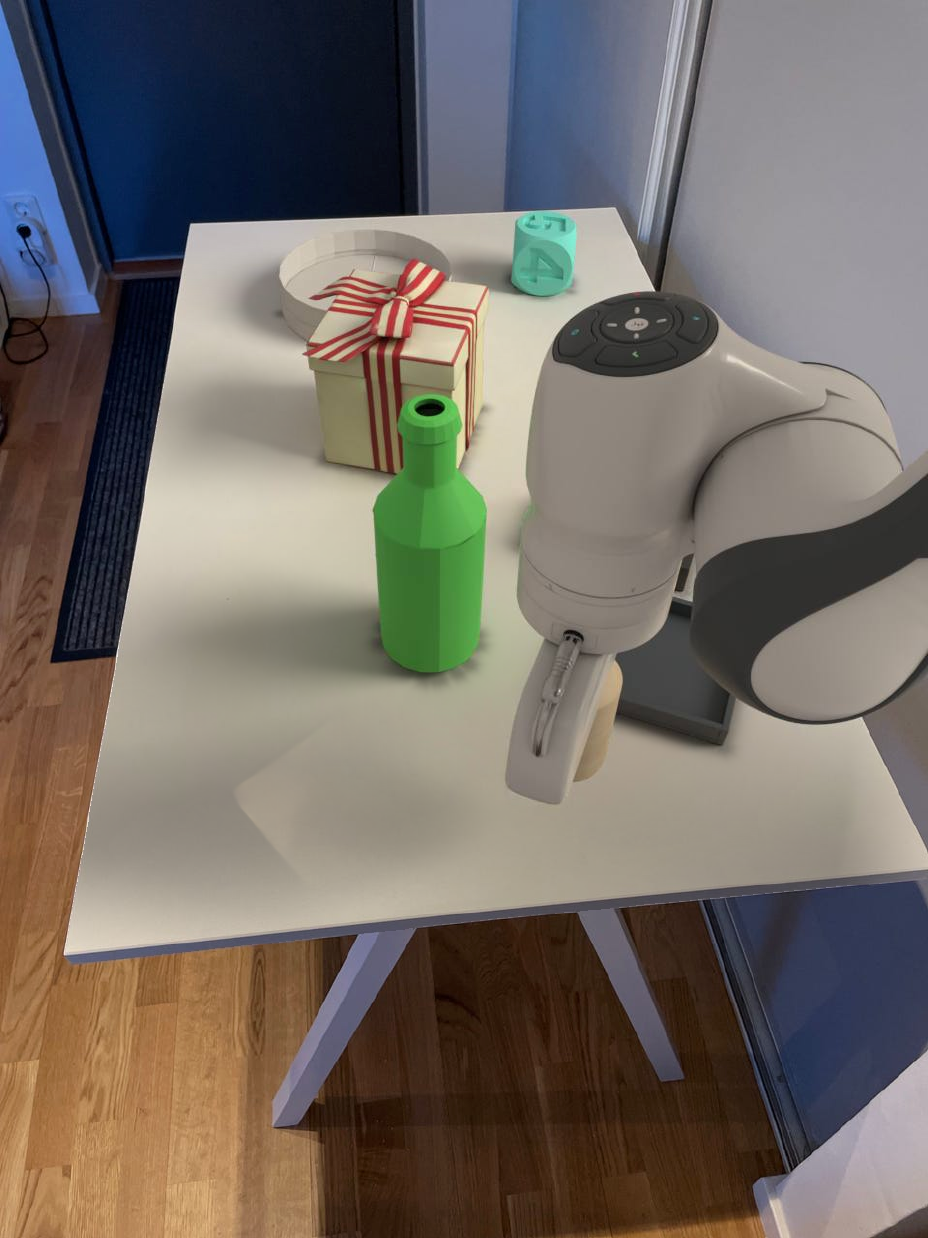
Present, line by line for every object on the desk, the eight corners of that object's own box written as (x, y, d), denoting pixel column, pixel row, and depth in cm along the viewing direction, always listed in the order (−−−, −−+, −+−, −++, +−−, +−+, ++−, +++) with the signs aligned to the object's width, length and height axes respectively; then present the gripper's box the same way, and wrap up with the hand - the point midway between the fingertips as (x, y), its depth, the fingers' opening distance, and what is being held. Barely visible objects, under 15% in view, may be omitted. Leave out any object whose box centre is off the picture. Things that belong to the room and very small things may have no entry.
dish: (297, 260, 127) (293, 225, 124) (456, 267, 127) (457, 232, 124) (268, 348, 113) (262, 311, 109) (447, 357, 113) (448, 320, 109)
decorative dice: (570, 298, 123) (577, 240, 117) (510, 294, 123) (514, 236, 117) (570, 268, 128) (576, 211, 122) (512, 265, 128) (516, 208, 122)
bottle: (459, 595, 86) (466, 362, 68) (494, 662, 81) (513, 430, 62) (368, 618, 84) (350, 385, 65) (399, 690, 79) (388, 458, 60)
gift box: (330, 383, 108) (316, 241, 95) (485, 400, 107) (492, 258, 94) (290, 475, 97) (268, 328, 84) (463, 495, 96) (467, 349, 83)
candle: (511, 747, 65) (519, 658, 58) (565, 705, 68) (579, 614, 60) (568, 798, 62) (584, 711, 55) (622, 752, 65) (644, 663, 57)
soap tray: (748, 633, 84) (753, 618, 82) (722, 746, 76) (728, 732, 74) (608, 593, 87) (611, 578, 85) (568, 698, 79) (571, 684, 77)
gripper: (602, 736, 45) (574, 867, 55) (686, 482, 58) (651, 627, 68) (480, 698, 46) (475, 833, 57) (589, 459, 59) (569, 605, 69)
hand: (572, 719), depth 62 cm, fingers closed on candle, 5 cm apart
